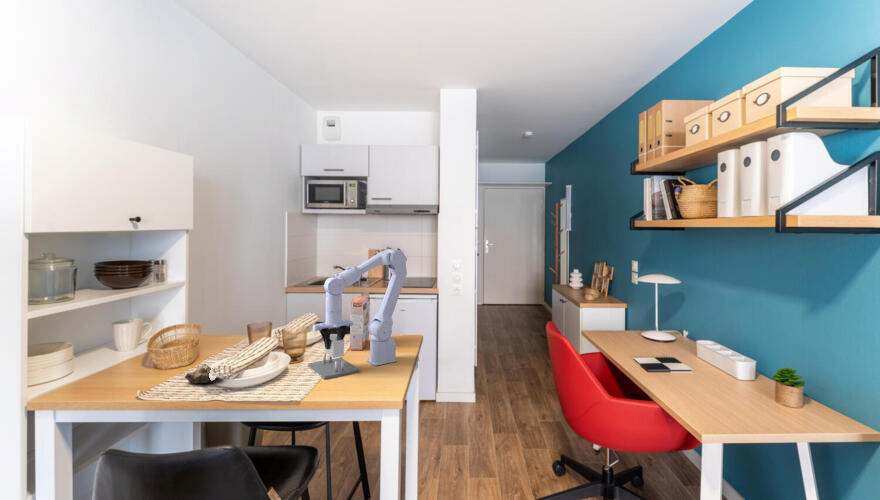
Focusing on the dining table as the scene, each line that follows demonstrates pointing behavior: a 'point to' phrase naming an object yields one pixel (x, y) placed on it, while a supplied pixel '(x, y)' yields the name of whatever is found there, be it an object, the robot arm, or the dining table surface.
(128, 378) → the dining table surface
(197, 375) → the fossilized seashell
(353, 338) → the cracker box
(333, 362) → the pin tray
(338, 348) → the grey block
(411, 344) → the dining table surface
